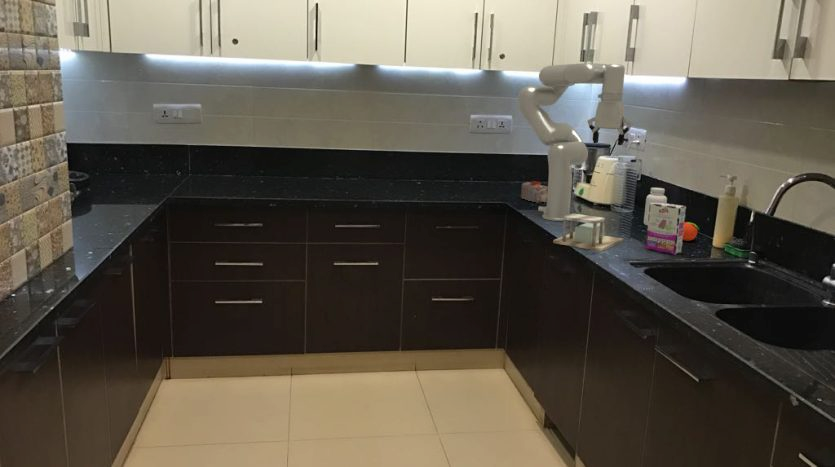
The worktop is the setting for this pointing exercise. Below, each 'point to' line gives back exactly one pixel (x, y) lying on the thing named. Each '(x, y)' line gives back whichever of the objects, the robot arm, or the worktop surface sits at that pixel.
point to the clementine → (689, 231)
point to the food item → (534, 192)
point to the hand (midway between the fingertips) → (607, 143)
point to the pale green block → (586, 233)
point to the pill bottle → (654, 200)
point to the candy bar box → (665, 228)
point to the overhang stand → (596, 244)
